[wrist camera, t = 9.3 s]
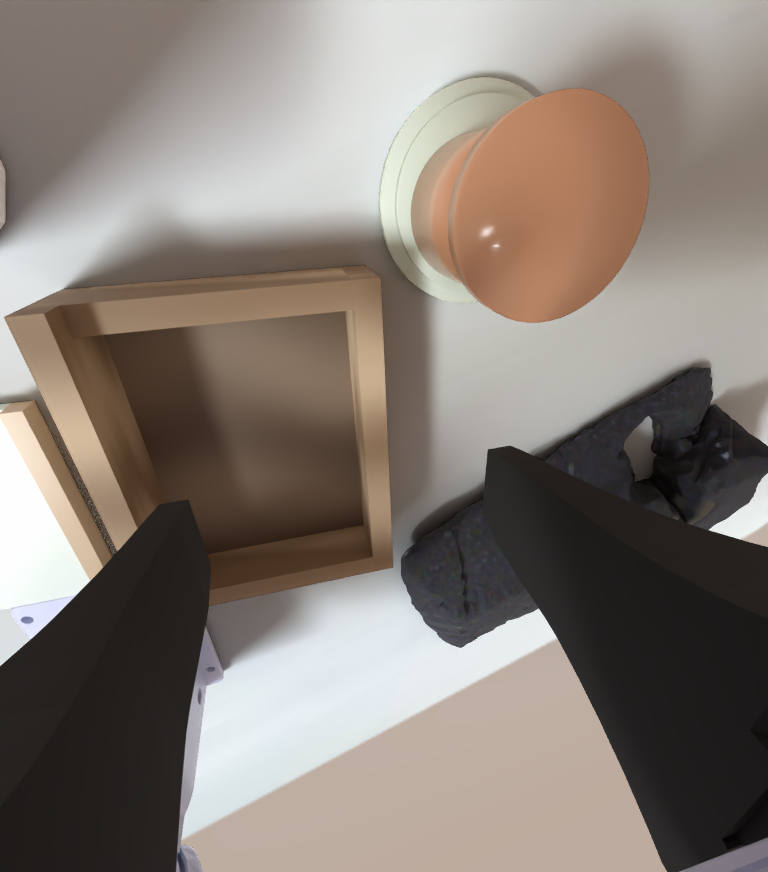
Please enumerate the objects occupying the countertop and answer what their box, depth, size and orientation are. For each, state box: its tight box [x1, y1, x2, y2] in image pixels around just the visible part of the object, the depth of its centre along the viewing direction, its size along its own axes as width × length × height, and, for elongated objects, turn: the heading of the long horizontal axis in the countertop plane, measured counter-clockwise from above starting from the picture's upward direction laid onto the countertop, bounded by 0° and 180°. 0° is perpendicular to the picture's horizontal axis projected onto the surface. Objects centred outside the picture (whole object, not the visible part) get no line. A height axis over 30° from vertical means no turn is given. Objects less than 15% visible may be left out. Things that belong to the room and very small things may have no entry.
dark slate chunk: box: [401, 368, 768, 648], centre depth 26 cm, size 15×22×5 cm
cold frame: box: [4, 265, 393, 606], centre depth 18 cm, size 14×11×4 cm
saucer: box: [379, 77, 535, 303], centre depth 17 cm, size 8×8×1 cm
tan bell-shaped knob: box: [411, 88, 649, 323], centre depth 14 cm, size 6×6×6 cm
